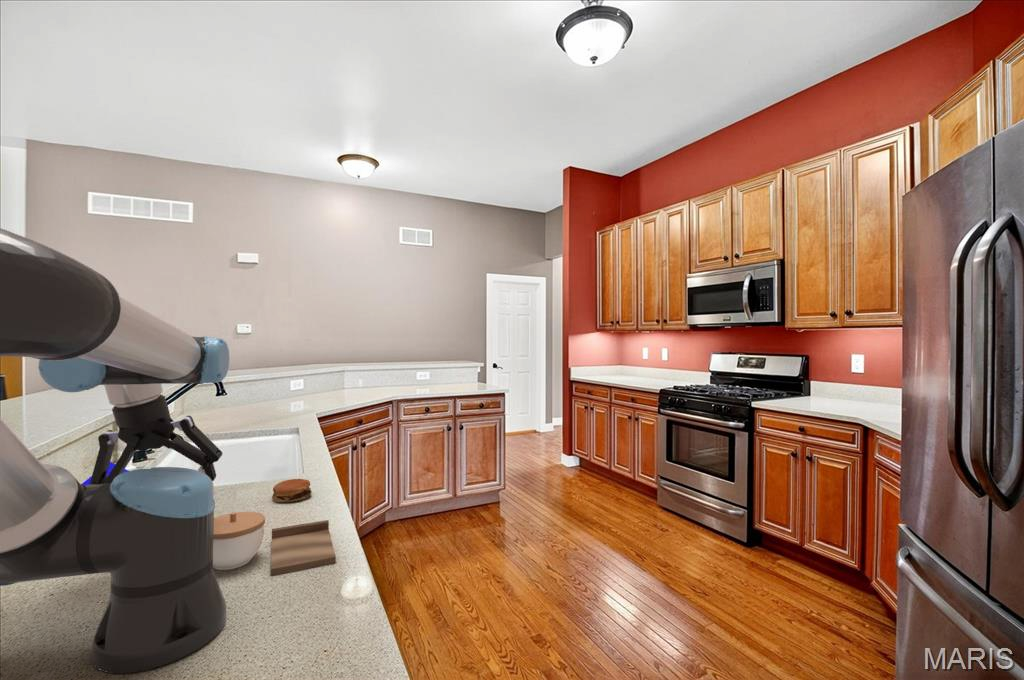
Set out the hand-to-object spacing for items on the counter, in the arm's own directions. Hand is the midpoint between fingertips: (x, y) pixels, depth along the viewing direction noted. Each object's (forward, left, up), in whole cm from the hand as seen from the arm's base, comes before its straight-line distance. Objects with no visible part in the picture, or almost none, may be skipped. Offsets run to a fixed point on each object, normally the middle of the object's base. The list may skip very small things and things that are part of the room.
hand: (170, 506), depth 86 cm
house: (+27, +25, -12) cm, 38 cm away
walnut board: (+1, -23, -11) cm, 26 cm away
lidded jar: (-1, -11, -11) cm, 16 cm away
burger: (+35, -11, -11) cm, 39 cm away
